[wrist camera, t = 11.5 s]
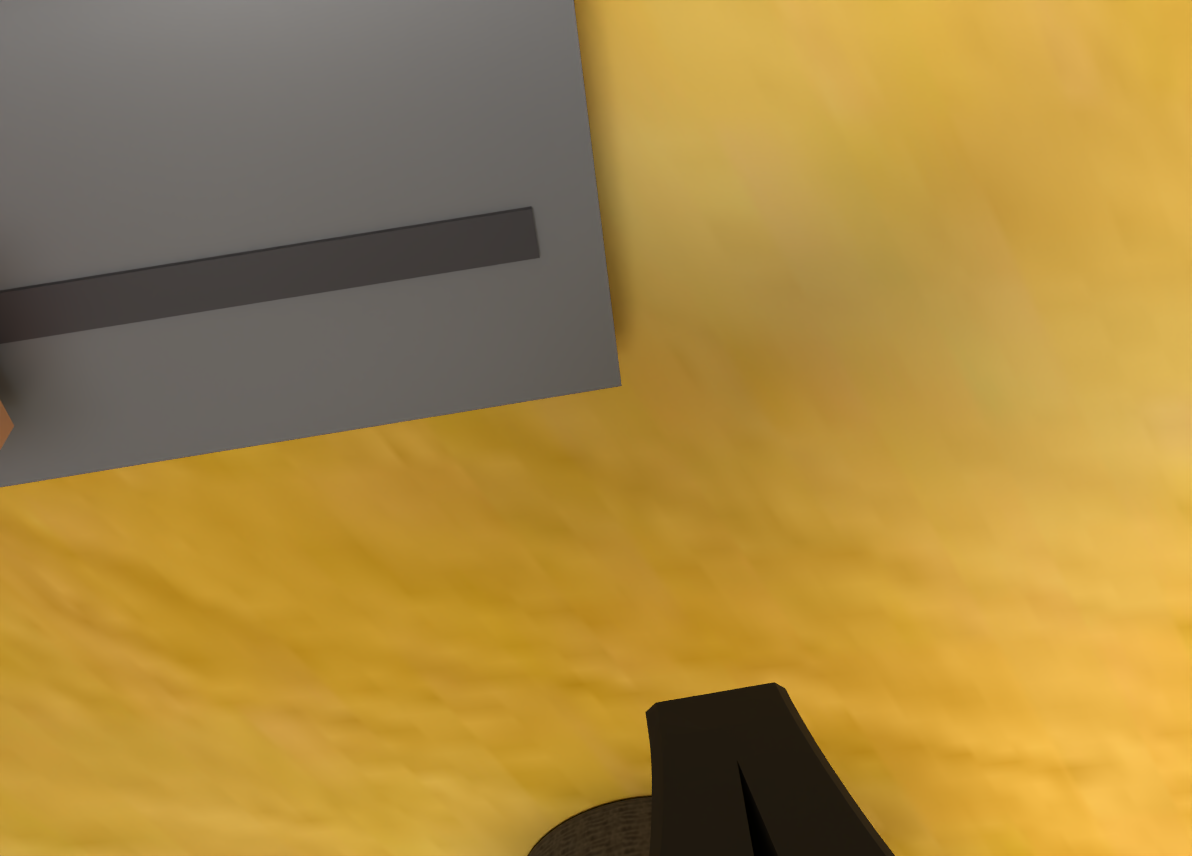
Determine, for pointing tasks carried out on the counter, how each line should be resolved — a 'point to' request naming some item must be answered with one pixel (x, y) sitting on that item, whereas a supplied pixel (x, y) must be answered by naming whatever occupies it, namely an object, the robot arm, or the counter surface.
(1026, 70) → the counter surface
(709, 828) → the robot arm
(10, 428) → the fader terracotta
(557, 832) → the coffee cup
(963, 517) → the counter surface
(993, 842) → the counter surface
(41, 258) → the console
